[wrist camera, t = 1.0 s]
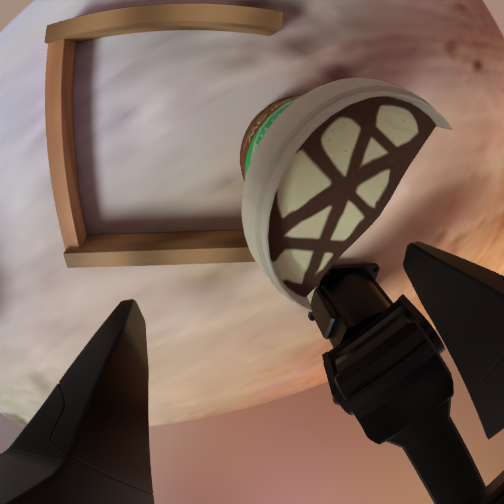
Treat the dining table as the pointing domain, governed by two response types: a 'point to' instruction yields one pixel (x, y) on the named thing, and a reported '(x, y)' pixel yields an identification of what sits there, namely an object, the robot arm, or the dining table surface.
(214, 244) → the bay
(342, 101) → the food container
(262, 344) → the dining table surface
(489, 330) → the robot arm
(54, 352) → the dining table surface
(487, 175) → the dining table surface
